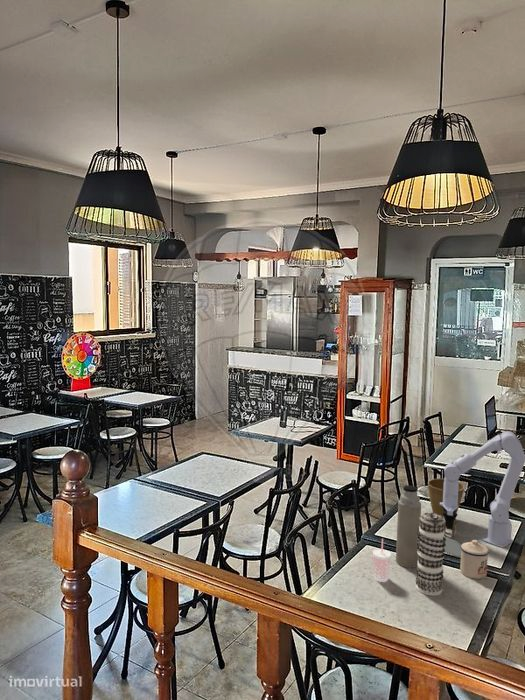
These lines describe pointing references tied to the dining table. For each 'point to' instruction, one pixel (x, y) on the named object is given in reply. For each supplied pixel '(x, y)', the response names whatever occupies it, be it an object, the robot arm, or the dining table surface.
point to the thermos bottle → (408, 527)
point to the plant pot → (440, 495)
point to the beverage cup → (381, 564)
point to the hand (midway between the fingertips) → (449, 526)
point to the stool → (452, 527)
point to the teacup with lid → (474, 559)
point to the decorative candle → (430, 554)
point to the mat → (453, 547)
